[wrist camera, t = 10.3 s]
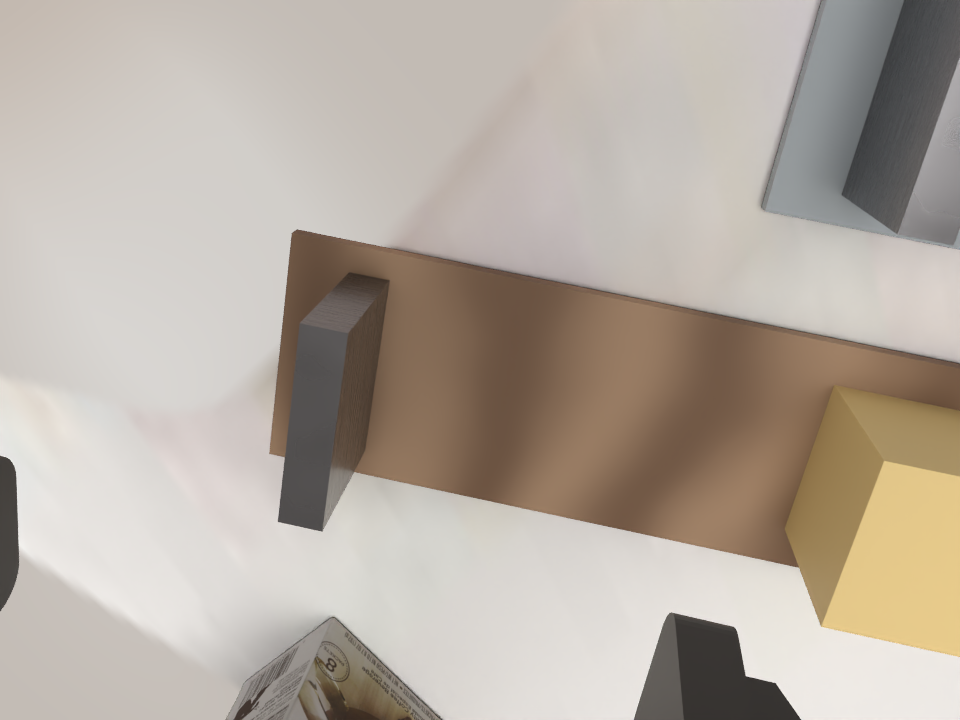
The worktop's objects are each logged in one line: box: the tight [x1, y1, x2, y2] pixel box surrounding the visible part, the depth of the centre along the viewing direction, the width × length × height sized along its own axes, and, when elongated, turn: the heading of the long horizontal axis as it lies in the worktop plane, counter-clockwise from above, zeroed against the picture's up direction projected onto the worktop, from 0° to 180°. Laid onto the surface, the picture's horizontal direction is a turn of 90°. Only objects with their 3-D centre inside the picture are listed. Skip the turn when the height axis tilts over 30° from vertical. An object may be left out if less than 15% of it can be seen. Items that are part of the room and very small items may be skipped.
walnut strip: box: [269, 230, 960, 567], centre depth 31 cm, size 30×9×7 cm, turn 80°
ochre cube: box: [785, 385, 960, 657], centre depth 31 cm, size 6×6×6 cm
